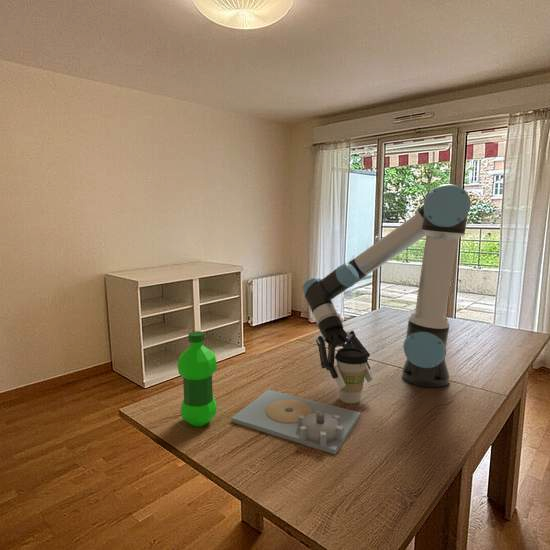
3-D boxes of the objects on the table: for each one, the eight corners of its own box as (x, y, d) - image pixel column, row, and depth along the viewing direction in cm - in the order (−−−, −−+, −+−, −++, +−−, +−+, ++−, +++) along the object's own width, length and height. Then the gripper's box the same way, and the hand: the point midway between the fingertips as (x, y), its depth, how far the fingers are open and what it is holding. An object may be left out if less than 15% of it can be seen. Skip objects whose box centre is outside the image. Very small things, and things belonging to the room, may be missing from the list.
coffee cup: (347, 409, 113) (348, 360, 111) (327, 395, 121) (328, 349, 119) (373, 401, 117) (375, 354, 115) (352, 389, 126) (354, 344, 124)
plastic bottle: (195, 436, 99) (192, 342, 95) (172, 421, 106) (168, 333, 102) (225, 421, 106) (223, 333, 103) (202, 408, 114) (200, 325, 110)
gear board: (360, 416, 109) (361, 395, 108) (334, 455, 91) (335, 431, 90) (268, 392, 123) (268, 374, 122) (230, 422, 106) (230, 401, 105)
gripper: (350, 322, 135) (379, 382, 124) (294, 330, 125) (320, 396, 114) (360, 310, 130) (392, 372, 118) (302, 318, 120) (331, 386, 108)
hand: (357, 384), depth 116 cm, fingers closed on coffee cup, 10 cm apart
